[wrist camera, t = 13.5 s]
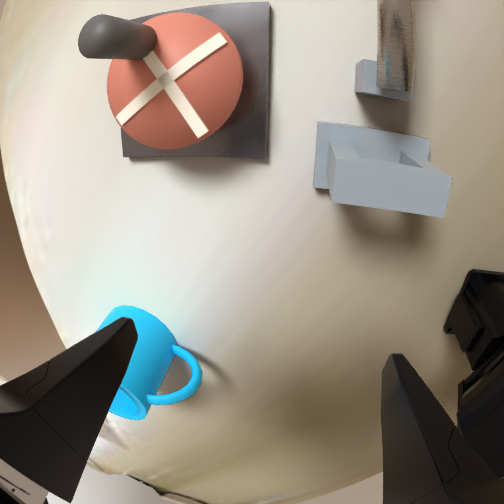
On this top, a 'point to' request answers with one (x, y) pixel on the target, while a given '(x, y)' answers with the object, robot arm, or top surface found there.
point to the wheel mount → (252, 94)
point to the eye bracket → (379, 161)
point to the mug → (149, 366)
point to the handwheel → (166, 75)
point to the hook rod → (395, 45)
